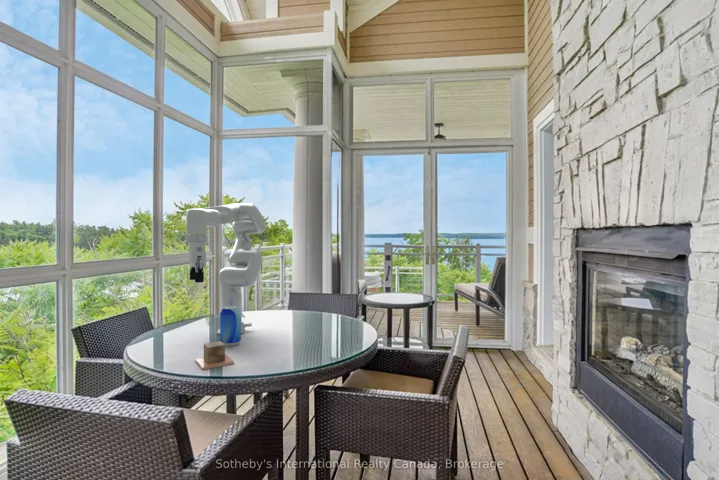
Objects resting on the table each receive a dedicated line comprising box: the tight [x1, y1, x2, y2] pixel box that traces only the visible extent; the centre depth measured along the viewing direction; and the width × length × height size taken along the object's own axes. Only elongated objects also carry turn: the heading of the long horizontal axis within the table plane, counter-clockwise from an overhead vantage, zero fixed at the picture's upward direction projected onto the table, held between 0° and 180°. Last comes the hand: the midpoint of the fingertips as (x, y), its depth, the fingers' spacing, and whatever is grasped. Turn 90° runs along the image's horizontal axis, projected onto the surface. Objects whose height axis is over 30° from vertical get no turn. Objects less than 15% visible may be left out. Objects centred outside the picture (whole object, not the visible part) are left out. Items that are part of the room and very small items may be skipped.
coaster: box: [195, 353, 235, 371], centre depth 141 cm, size 11×11×1 cm
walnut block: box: [203, 340, 226, 364], centre depth 141 cm, size 6×6×6 cm
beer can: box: [219, 306, 242, 347], centre depth 165 cm, size 8×8×16 cm
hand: (196, 281), depth 155 cm, fingers open, 9 cm apart
